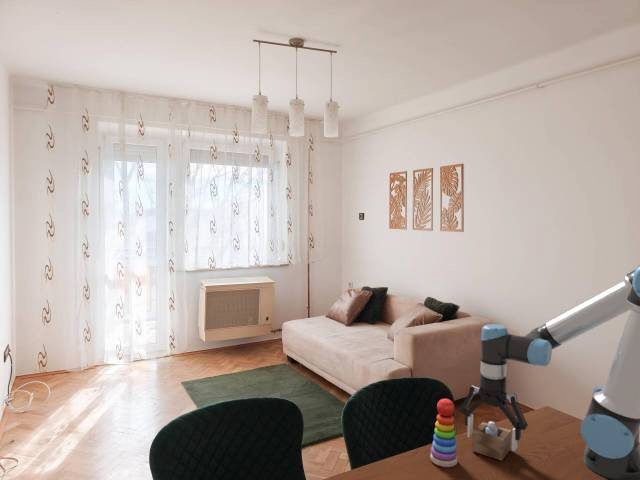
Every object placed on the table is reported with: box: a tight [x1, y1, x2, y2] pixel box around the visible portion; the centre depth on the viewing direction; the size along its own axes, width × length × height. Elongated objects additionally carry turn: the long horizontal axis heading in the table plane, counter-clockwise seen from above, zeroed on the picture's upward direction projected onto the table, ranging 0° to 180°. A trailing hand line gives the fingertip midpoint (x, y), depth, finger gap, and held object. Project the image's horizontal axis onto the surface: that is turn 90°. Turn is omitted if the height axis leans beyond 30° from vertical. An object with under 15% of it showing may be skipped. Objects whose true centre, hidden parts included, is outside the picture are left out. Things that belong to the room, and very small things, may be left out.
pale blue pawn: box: [486, 421, 498, 437], centre depth 144 cm, size 7×7×9 cm
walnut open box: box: [471, 421, 512, 462], centre depth 144 cm, size 9×9×6 cm
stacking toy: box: [429, 398, 459, 468], centre depth 137 cm, size 8×8×19 cm
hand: (491, 442), depth 144 cm, fingers open, 13 cm apart
